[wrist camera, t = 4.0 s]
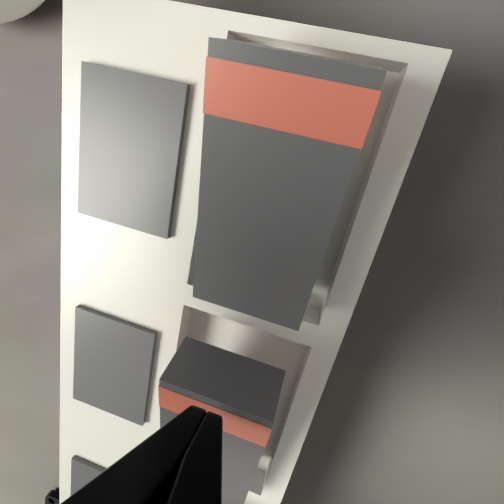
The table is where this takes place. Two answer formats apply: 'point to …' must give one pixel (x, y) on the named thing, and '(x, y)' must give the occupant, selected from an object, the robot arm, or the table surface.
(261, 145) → the rocker
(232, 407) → the rocker
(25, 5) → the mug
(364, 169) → the power strip
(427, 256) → the table surface
